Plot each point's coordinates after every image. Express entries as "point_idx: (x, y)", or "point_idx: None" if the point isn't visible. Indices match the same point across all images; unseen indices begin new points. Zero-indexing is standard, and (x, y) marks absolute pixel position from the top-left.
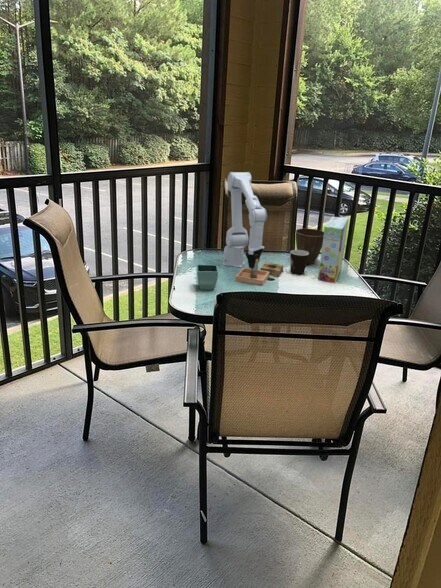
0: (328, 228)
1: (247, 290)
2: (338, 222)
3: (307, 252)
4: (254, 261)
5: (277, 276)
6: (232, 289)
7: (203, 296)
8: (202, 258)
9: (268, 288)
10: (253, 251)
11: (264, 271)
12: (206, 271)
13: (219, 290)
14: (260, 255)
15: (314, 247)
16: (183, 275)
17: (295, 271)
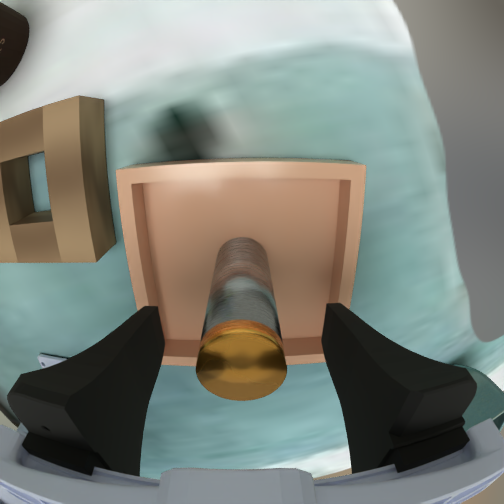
0: None
1: (446, 234)
2: None
3: None
4: (393, 346)
5: (103, 110)
6: (445, 305)
7: (496, 355)
8: None
9: (380, 111)
10: (496, 453)
11: (134, 212)
12: (501, 428)
13: (457, 343)
14: (101, 346)
15: None
16: (329, 468)
17: (16, 36)
